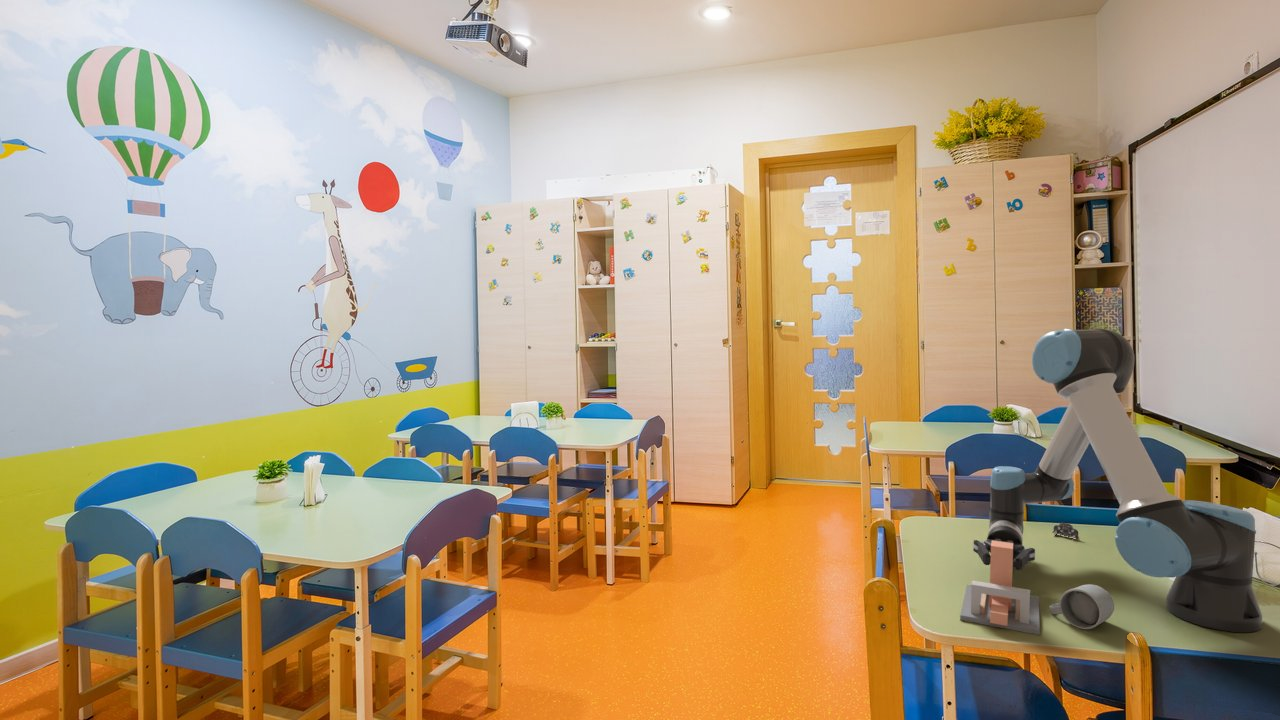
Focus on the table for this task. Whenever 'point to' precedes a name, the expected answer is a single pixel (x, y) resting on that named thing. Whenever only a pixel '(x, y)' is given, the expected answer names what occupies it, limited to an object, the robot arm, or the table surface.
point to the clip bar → (1000, 580)
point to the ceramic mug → (1085, 606)
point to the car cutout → (1066, 530)
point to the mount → (1019, 617)
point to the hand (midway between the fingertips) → (1001, 572)
